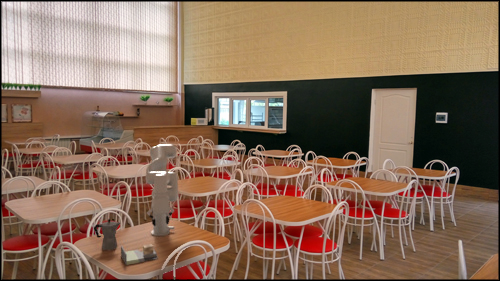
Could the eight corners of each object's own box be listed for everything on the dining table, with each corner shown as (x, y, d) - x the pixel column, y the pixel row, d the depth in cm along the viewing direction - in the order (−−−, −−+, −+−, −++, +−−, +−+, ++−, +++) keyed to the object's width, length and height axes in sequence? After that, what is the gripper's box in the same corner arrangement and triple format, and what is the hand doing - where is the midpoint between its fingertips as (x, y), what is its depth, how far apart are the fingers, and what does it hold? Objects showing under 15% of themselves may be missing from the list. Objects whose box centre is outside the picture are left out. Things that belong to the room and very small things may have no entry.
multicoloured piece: (152, 250, 224) (151, 240, 224) (158, 258, 212) (158, 248, 212) (121, 255, 216) (120, 245, 215) (125, 264, 203) (125, 254, 203)
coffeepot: (119, 243, 235) (119, 215, 233) (122, 248, 227) (121, 219, 225) (93, 247, 227) (92, 218, 226) (95, 252, 219) (94, 223, 218)
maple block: (151, 250, 219) (151, 244, 219) (153, 252, 216) (153, 246, 215) (143, 252, 217) (143, 245, 216) (144, 254, 213) (144, 247, 213)
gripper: (173, 192, 224) (173, 220, 226) (144, 195, 216) (144, 224, 217) (177, 194, 218) (177, 224, 219) (147, 197, 209) (147, 228, 211)
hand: (160, 224), depth 218 cm, fingers open, 7 cm apart
